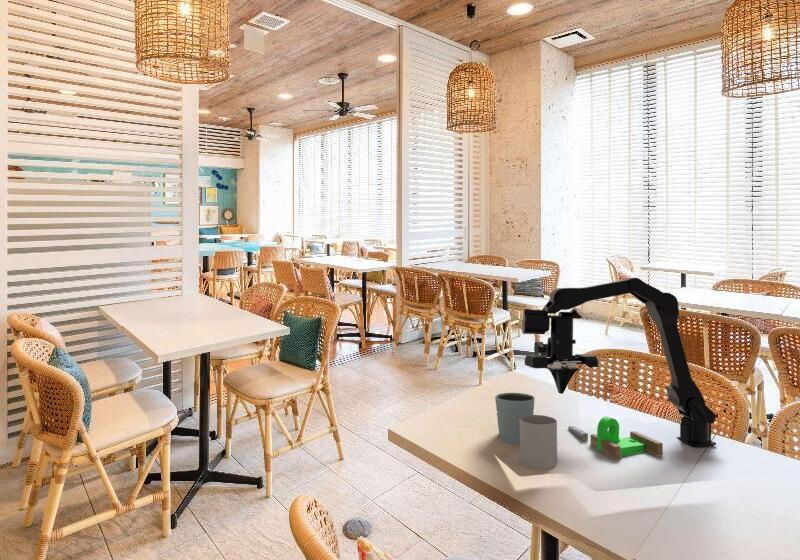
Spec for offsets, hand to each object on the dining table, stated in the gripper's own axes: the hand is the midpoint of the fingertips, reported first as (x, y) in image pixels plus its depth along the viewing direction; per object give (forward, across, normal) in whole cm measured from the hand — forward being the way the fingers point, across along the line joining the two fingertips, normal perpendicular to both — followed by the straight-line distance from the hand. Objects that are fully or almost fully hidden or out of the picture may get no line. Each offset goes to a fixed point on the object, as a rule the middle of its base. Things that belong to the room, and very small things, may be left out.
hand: (560, 393), depth 132 cm
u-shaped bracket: (+13, 0, 0) cm, 13 cm away
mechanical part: (+13, -12, +10) cm, 20 cm away
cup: (+13, +13, +14) cm, 23 cm away
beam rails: (+12, -12, +11) cm, 20 cm away
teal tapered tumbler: (+13, +12, -2) cm, 18 cm away
